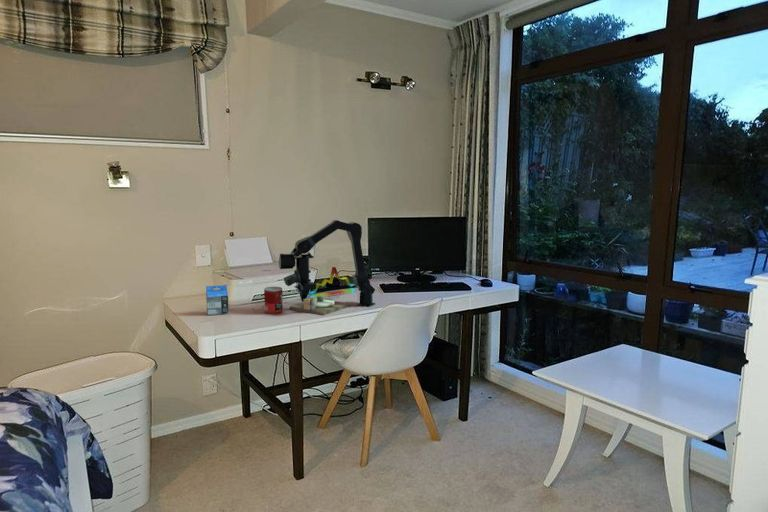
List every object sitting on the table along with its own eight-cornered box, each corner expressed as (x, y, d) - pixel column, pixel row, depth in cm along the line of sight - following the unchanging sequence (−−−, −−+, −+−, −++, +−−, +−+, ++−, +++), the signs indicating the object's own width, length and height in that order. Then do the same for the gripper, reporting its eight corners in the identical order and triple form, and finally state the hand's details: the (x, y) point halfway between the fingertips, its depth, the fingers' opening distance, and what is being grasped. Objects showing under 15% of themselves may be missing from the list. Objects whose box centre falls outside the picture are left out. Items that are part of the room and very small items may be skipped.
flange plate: (316, 299, 232) (316, 290, 232) (339, 302, 227) (339, 293, 226) (294, 307, 217) (294, 298, 216) (318, 311, 211) (318, 301, 211)
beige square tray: (317, 300, 238) (317, 288, 237) (350, 305, 227) (350, 293, 226) (289, 309, 221) (289, 296, 220) (323, 315, 210) (323, 301, 210)
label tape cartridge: (207, 315, 209) (206, 287, 207) (206, 313, 212) (205, 286, 210) (228, 313, 212) (227, 286, 210) (227, 311, 216) (226, 284, 214)
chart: (307, 301, 238) (307, 271, 236) (304, 300, 240) (303, 270, 238) (355, 292, 258) (355, 265, 256) (351, 291, 260) (351, 264, 258)
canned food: (278, 315, 210) (278, 290, 209) (261, 313, 212) (260, 289, 211) (285, 310, 218) (285, 286, 216) (269, 309, 219) (268, 286, 218)
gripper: (278, 266, 220) (279, 299, 223) (292, 272, 204) (292, 308, 206) (302, 264, 226) (302, 297, 228) (316, 270, 210) (317, 305, 212)
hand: (303, 301), depth 218 cm, fingers closed
